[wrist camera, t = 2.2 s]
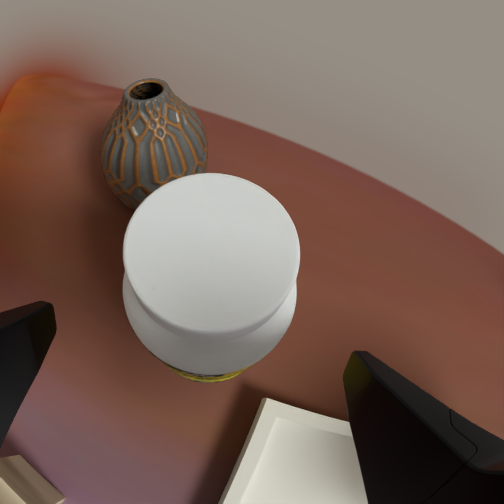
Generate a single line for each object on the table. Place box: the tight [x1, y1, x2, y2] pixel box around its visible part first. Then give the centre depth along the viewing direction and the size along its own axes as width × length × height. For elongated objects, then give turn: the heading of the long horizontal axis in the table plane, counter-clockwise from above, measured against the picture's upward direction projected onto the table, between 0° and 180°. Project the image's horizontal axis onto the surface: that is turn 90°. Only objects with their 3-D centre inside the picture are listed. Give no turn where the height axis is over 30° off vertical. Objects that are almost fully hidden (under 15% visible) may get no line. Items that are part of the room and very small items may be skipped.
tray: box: [218, 398, 368, 504], centre depth 13 cm, size 11×11×2 cm
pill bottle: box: [123, 173, 300, 383], centre depth 13 cm, size 6×6×11 cm
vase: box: [100, 78, 208, 211], centre depth 18 cm, size 7×7×9 cm
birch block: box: [0, 455, 66, 504], centre depth 9 cm, size 4×4×4 cm
